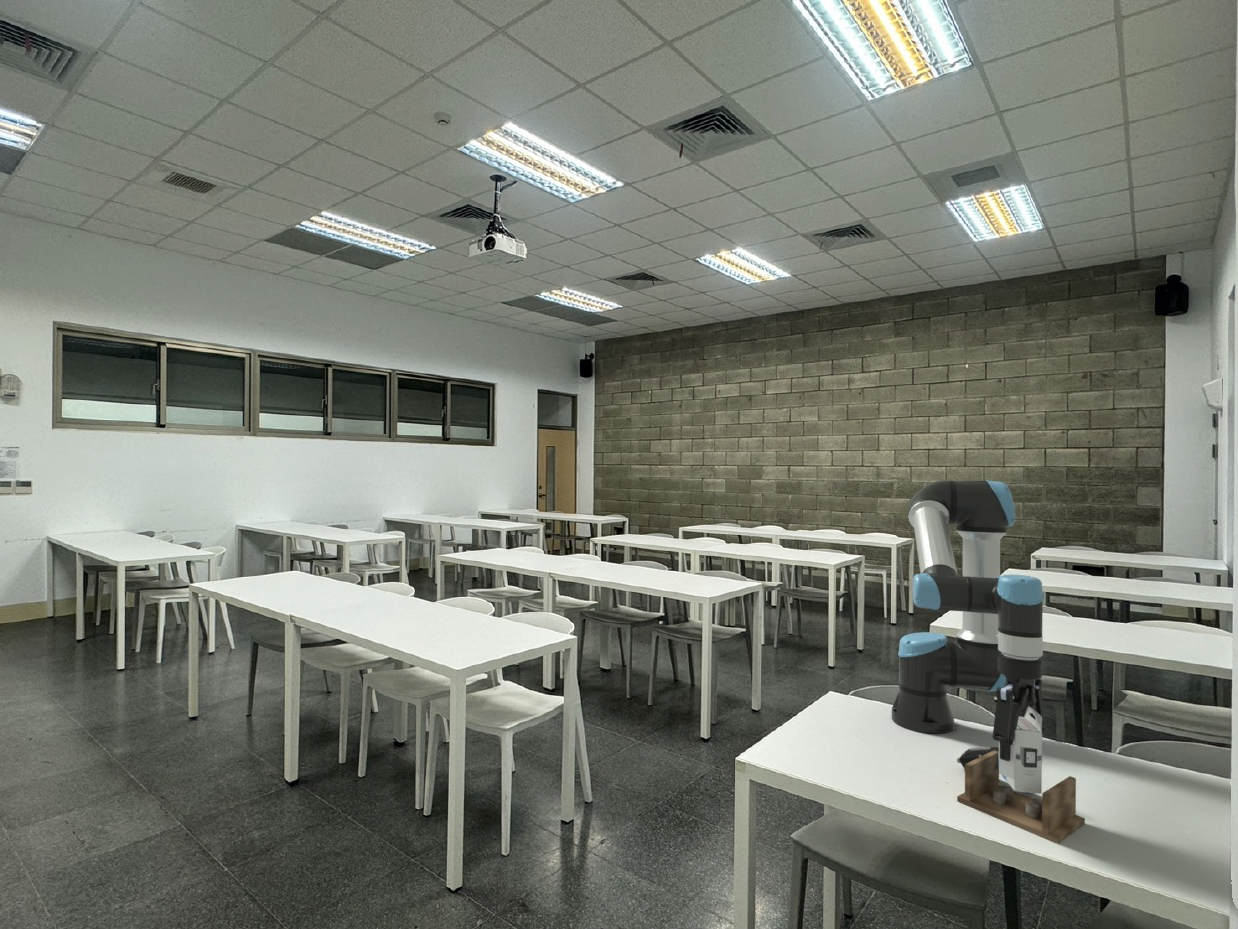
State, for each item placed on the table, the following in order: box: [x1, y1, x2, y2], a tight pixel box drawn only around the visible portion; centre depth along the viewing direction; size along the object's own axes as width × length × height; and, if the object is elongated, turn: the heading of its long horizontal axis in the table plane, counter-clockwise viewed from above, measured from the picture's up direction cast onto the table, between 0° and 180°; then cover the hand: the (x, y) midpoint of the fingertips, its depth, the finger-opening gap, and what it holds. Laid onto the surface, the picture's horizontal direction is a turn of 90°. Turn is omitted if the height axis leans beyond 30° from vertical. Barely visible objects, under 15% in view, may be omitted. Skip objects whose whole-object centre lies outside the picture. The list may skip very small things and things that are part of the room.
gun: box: [956, 746, 1029, 794], centre depth 139 cm, size 3×16×10 cm
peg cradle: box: [956, 750, 1086, 844], centre depth 127 cm, size 12×18×8 cm, turn 35°
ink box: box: [1001, 706, 1043, 795], centre depth 127 cm, size 9×5×15 cm, turn 168°
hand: (1019, 769), depth 127 cm, fingers closed on ink box, 9 cm apart
